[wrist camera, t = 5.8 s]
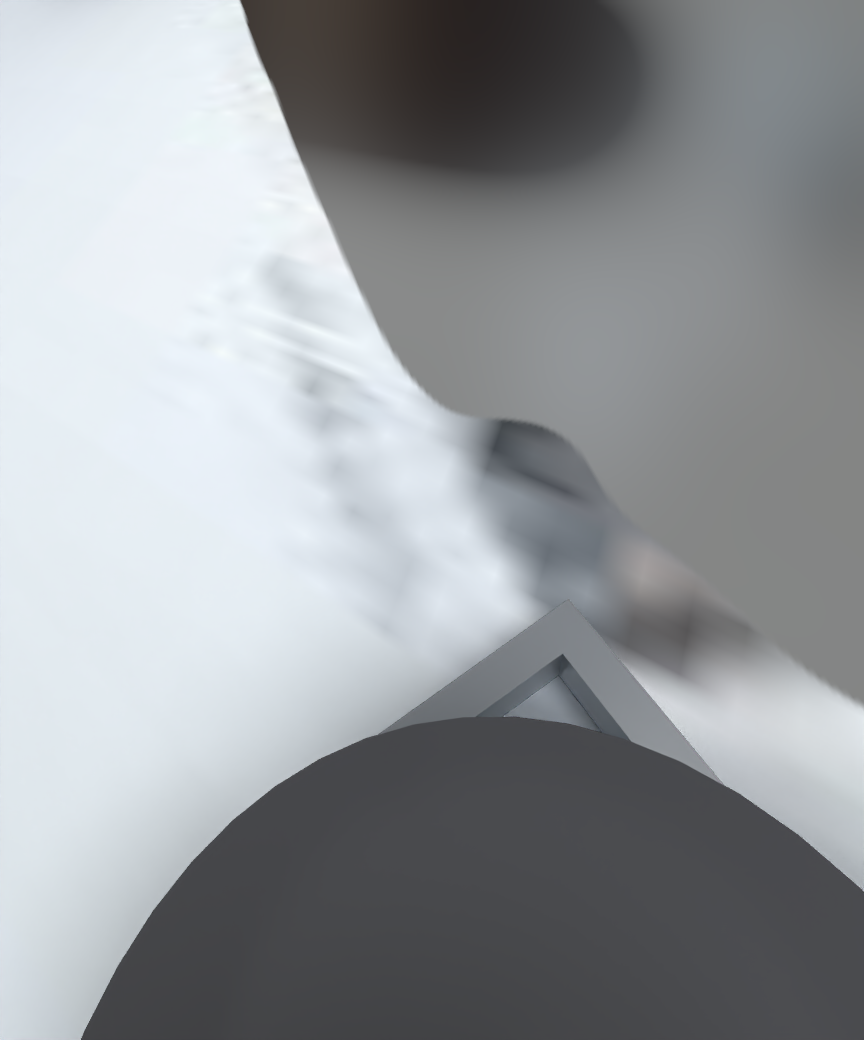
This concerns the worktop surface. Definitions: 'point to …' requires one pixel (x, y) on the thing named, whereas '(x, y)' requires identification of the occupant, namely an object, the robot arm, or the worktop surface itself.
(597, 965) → the blue-grey upright cylinder
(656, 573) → the worktop surface
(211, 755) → the worktop surface
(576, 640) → the cartridge housing
